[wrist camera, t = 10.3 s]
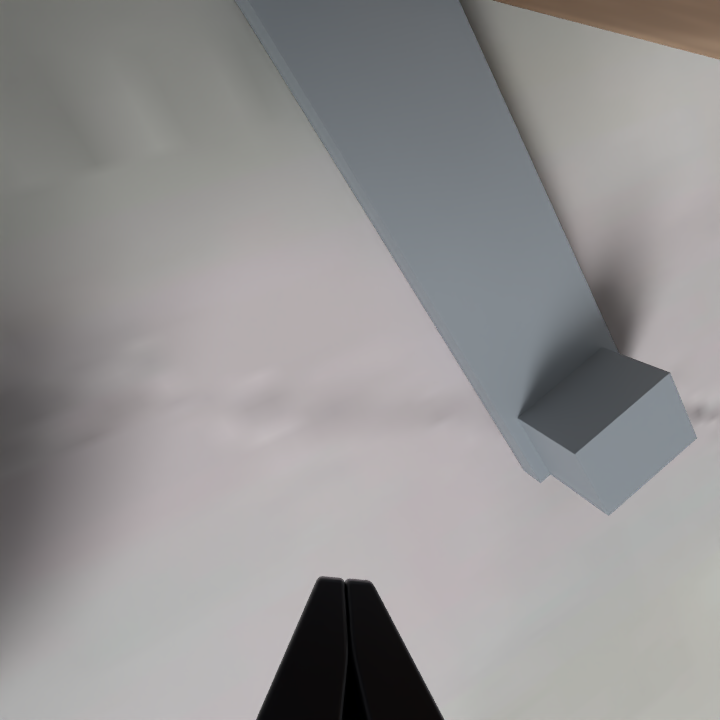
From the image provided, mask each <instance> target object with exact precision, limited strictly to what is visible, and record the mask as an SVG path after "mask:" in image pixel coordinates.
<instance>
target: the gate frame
mask: <svg viewBox="0 0 720 720" xmlns="http://www.w3.org/2000/svg"><path fill="white" fill-rule="evenodd" d="M235 1H236V3H237V5H238V6H239V8H240V9H241V11H242V13H243V14H244V16H245V18H246V19H247V21H248V22H249V24H250V26H251V27H252V29H253V31H254V32H255V34H256V35H257V37H258V39H259V40H260V42H261V44H262V45H263V47H264V48H265V50H266V52H267V53H268V55H269V57H270V58H271V60H272V61H273V63H274V65H275V66H276V68H277V70H278V71H279V73H280V74H281V76H282V78H283V79H284V81H285V83H286V84H287V86H288V87H289V89H290V91H291V92H292V94H293V96H294V97H295V99H296V100H297V102H298V104H299V105H300V107H301V109H302V110H303V112H304V113H305V115H306V117H307V118H308V120H309V122H310V123H311V125H312V126H313V128H314V130H315V131H316V133H317V135H318V136H319V138H320V139H321V141H322V143H323V144H324V146H325V148H326V149H327V151H328V152H329V154H330V156H331V157H332V159H333V161H334V162H335V164H336V165H337V167H338V169H339V170H340V172H341V174H342V175H343V177H344V178H345V180H346V182H347V183H348V185H349V187H350V188H351V190H352V191H353V193H354V195H355V196H356V198H357V200H358V201H359V203H360V204H361V206H362V208H363V209H364V211H365V213H366V214H367V216H368V217H369V219H370V221H371V222H372V224H373V226H374V227H375V229H376V230H377V232H378V234H379V235H380V237H381V239H382V240H383V242H384V243H385V245H386V247H387V248H388V250H389V252H390V253H391V255H392V256H393V258H394V260H395V261H396V263H397V265H398V266H399V268H400V269H401V271H402V273H403V274H404V276H405V278H406V279H407V281H408V282H409V284H410V286H411V287H412V289H413V291H414V292H415V294H416V295H417V297H418V299H419V300H420V302H421V304H422V305H423V307H424V308H425V310H426V312H427V313H428V315H429V317H430V318H431V320H432V321H433V323H434V325H435V326H436V328H437V330H438V331H439V333H440V334H441V336H442V338H443V339H444V341H445V343H446V344H447V346H448V347H449V349H450V351H451V352H452V354H453V356H454V357H455V359H456V360H457V362H458V364H459V365H460V367H461V369H462V370H463V372H464V373H465V375H466V377H467V378H468V380H469V382H470V383H471V385H472V386H473V388H474V390H475V391H476V393H477V395H478V396H479V398H480V399H481V401H482V403H483V404H484V406H485V408H486V409H487V411H488V412H489V414H490V416H491V417H492V419H493V421H494V422H495V424H496V425H497V427H498V429H499V430H500V432H501V434H502V435H503V437H504V438H505V440H506V442H507V443H508V445H509V447H510V448H511V450H512V451H513V453H514V455H515V456H516V458H517V460H518V461H519V463H520V464H521V466H522V468H523V469H524V471H525V472H527V473H528V474H529V475H531V476H532V477H533V478H535V479H536V480H537V481H539V482H540V483H541V482H542V481H543V480H544V479H546V478H547V477H548V476H549V475H550V474H551V475H552V476H554V477H555V478H557V479H558V480H559V481H561V482H562V483H564V484H565V485H566V486H568V487H569V488H571V489H572V490H573V491H575V492H576V493H578V494H579V495H580V496H582V497H583V498H585V499H586V500H587V501H589V502H590V503H592V504H593V505H594V506H596V507H597V508H598V509H600V510H601V511H603V512H604V513H605V514H607V515H608V516H609V515H610V514H611V513H612V512H614V511H615V510H616V509H617V508H618V507H619V506H620V505H622V504H623V503H624V502H625V501H626V500H627V499H628V498H629V497H631V496H632V495H633V494H634V493H635V492H636V491H637V490H639V489H640V488H641V487H642V486H643V485H644V484H645V483H647V482H648V481H649V480H650V479H651V478H652V477H653V476H654V475H656V474H657V473H658V472H659V471H660V470H661V469H662V468H664V467H665V466H666V465H667V464H668V463H669V462H670V461H672V460H673V459H674V458H675V457H676V456H677V455H678V454H679V453H681V452H682V451H683V450H684V449H685V448H686V447H687V446H689V445H690V444H691V443H692V442H693V441H694V440H695V439H697V437H696V434H695V432H694V430H693V427H692V425H691V422H690V420H689V417H688V415H687V413H686V410H685V408H684V405H683V403H682V400H681V398H680V396H679V393H678V391H677V388H676V386H675V383H674V381H673V379H672V376H671V374H670V372H667V371H664V370H662V369H659V368H656V367H654V366H651V365H648V364H646V363H643V362H640V361H638V360H635V359H632V358H630V357H627V356H624V355H622V354H619V352H618V350H617V348H616V345H615V343H614V341H613V339H612V337H611V334H610V332H609V330H608V328H607V326H606V323H605V321H604V319H603V317H602V315H601V312H600V310H599V308H598V306H597V304H596V301H595V299H594V297H593V295H592V293H591V290H590V288H589V286H588V284H587V282H586V279H585V277H584V275H583V273H582V270H581V268H580V266H579V264H578V262H577V259H576V257H575V255H574V253H573V251H572V248H571V246H570V244H569V242H568V240H567V237H566V235H565V233H564V231H563V229H562V226H561V224H560V222H559V220H558V218H557V215H556V213H555V211H554V209H553V207H552V204H551V202H550V200H549V198H548V196H547V193H546V191H545V189H544V187H543V185H542V182H541V180H540V178H539V176H538V173H537V171H536V169H535V167H534V165H533V162H532V160H531V158H530V156H529V154H528V151H527V149H526V147H525V145H524V143H523V140H522V138H521V136H520V134H519V132H518V129H517V127H516V125H515V123H514V121H513V118H512V116H511V114H510V112H509V110H508V107H507V105H506V103H505V101H504V99H503V96H502V94H501V92H500V90H499V87H498V85H497V83H496V81H495V79H494V76H493V74H492V72H491V70H490V68H489V65H488V63H487V61H486V59H485V57H484V54H483V52H482V50H481V48H480V46H479V43H478V41H477V39H476V37H475V35H474V32H473V30H472V28H471V26H470V24H469V21H468V19H467V17H466V15H465V13H464V10H463V8H462V6H461V4H460V2H459V0H235Z"/></svg>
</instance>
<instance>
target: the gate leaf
mask: <svg viewBox="0 0 720 720" xmlns="http://www.w3.org/2000/svg"><path fill="white" fill-rule="evenodd" d="M493 1H497V2H501V3H505V4H509V5H512V6H516V7H520V8H524V9H528V10H532V11H535V12H539V13H543V14H547V15H551V16H555V17H558V18H562V19H566V20H570V21H574V22H578V23H581V24H585V25H589V26H593V27H597V28H601V29H604V30H608V31H612V32H616V33H620V34H624V35H627V36H631V37H635V38H639V39H643V40H646V41H650V42H654V43H658V44H662V45H666V46H669V47H673V48H677V49H681V50H685V51H689V52H692V53H696V54H700V55H704V56H708V57H712V58H715V59H719V60H720V0H493Z"/></svg>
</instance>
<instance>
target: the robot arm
mask: <svg viewBox="0 0 720 720" xmlns="http://www.w3.org/2000/svg"><path fill="white" fill-rule="evenodd" d="M256 720H444V718H443V716H442V714H441V713H440V711H439V709H438V707H437V705H436V703H435V701H434V699H433V697H432V695H431V693H430V692H429V690H428V688H427V686H426V684H425V682H424V680H423V678H422V676H421V674H420V672H419V671H418V669H417V667H416V665H415V663H414V661H413V659H412V657H411V655H410V653H409V651H408V650H407V648H406V646H405V644H404V642H403V640H402V638H401V636H400V634H399V632H398V630H397V629H396V627H395V625H394V623H393V621H392V619H391V617H390V615H389V613H388V611H387V609H386V608H385V606H384V604H383V602H382V600H381V598H380V596H379V594H378V592H377V590H376V588H375V587H374V585H373V584H372V583H371V582H370V581H368V580H359V579H347V580H346V581H345V582H344V580H343V579H341V578H335V577H324V576H321V577H319V578H318V579H317V581H316V583H315V585H314V588H313V590H312V592H311V595H310V597H309V599H308V601H307V604H306V606H305V608H304V611H303V613H302V615H301V618H300V620H299V622H298V624H297V627H296V629H295V631H294V634H293V636H292V638H291V641H290V643H289V645H288V648H287V650H286V652H285V654H284V657H283V659H282V661H281V664H280V666H279V668H278V671H277V673H276V675H275V677H274V680H273V682H272V684H271V687H270V689H269V691H268V694H267V696H266V698H265V700H264V703H263V705H262V707H261V710H260V712H259V714H258V717H257V719H256Z"/></svg>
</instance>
